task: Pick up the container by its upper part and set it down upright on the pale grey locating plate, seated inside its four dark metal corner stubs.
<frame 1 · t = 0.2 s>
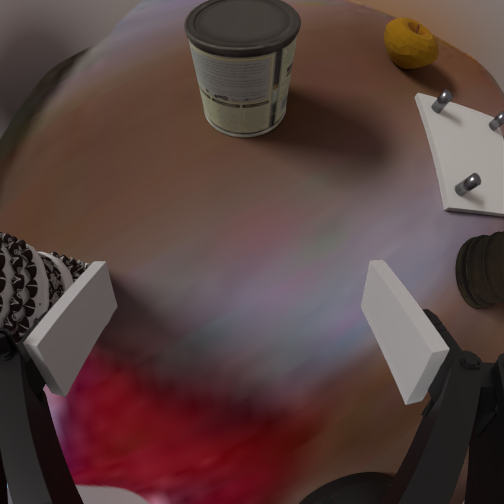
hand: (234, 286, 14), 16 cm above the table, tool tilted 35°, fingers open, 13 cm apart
locating plate: (474, 157, 33), on the table
container: (476, 272, 30), on the table
apple: (400, 63, 36), on the table
coffee can: (244, 106, 34), on the table
decorative candle: (83, 300, 29), on the table
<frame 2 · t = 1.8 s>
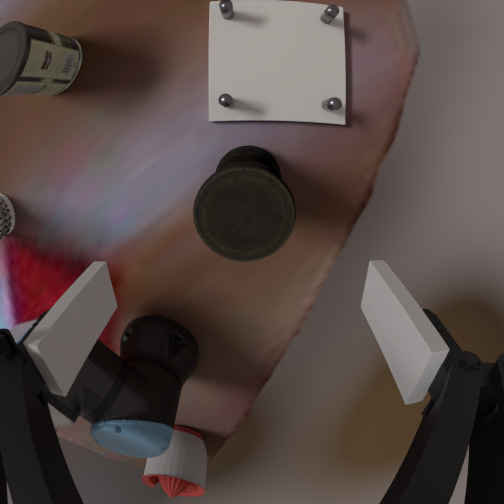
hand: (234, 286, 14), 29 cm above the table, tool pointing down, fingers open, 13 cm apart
locating plate: (277, 58, 33), on the table
container: (248, 177, 40), on the table
citrus juicer: (180, 435, 68), on the table
coffee can: (58, 66, 32), on the table
decorative candle: (2, 213, 42), on the table
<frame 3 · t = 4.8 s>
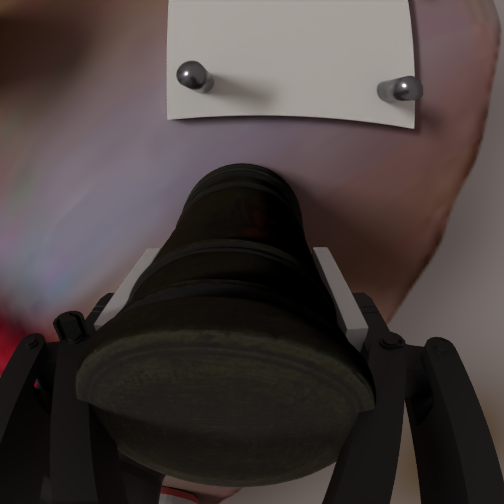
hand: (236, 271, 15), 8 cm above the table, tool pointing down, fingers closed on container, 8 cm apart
locating plate: (294, 7, 16), on the table
container: (242, 219, 23), on the table, touching gripper
citrus juicer: (171, 493, 51), on the table
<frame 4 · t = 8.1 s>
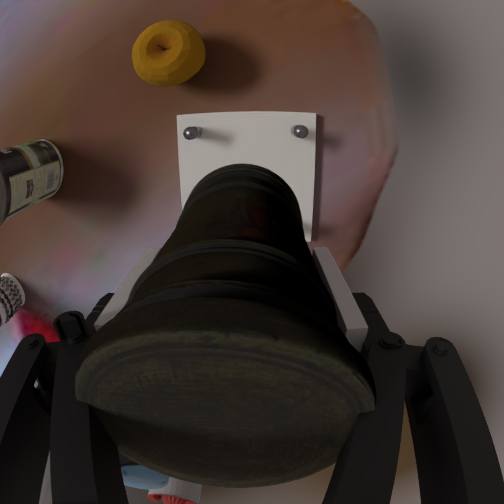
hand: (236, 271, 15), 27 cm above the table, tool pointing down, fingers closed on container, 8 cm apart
locating plate: (247, 177, 40), on the table
container: (242, 219, 23), point 18 cm above the table, touching gripper
citrus juicer: (179, 458, 75), on the table
apple: (178, 61, 33), on the table
coffee can: (42, 169, 39), on the table
decorative candle: (12, 289, 49), on the table
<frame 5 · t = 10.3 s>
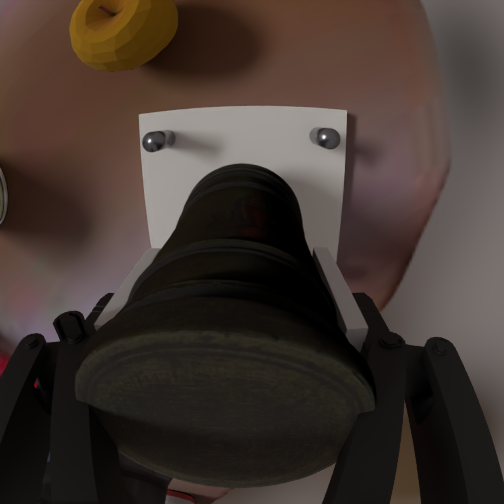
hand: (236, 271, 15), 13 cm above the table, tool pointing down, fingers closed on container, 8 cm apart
locating plate: (243, 204, 27), on the table
container: (242, 219, 23), point 5 cm above the table, touching gripper
citrus juicer: (173, 494, 62), on the table
apple: (144, 37, 21), on the table
when the fingers open (11 cm above the table, at t = 11.8 s): container drops 1 cm, resting on locating plate.
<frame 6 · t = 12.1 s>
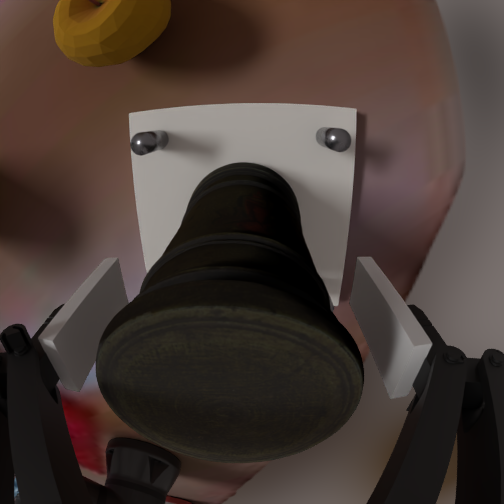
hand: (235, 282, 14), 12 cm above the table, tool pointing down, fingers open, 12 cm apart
locating plate: (243, 211, 25), on the table
container: (243, 215, 24), point 1 cm above the table, touching locating plate
citrus juicer: (172, 500, 60), on the table
apple: (136, 30, 18), on the table
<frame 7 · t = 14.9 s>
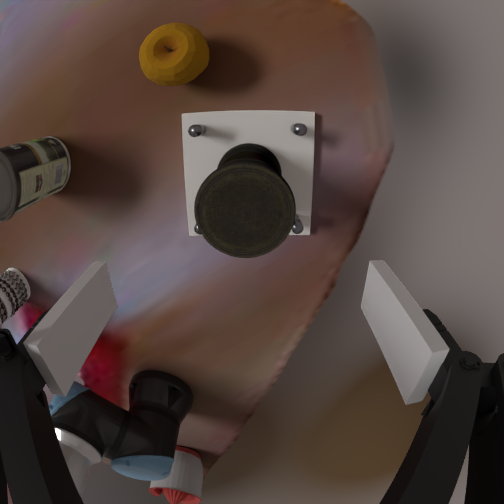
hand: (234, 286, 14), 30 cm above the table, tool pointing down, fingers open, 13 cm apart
locating plate: (248, 173, 41), on the table
container: (249, 174, 41), point 1 cm above the table, touching locating plate
citrus juicer: (180, 452, 77), on the table
apple: (183, 61, 35), on the table
coffee can: (49, 165, 40), on the table
decorative candle: (18, 283, 51), on the table
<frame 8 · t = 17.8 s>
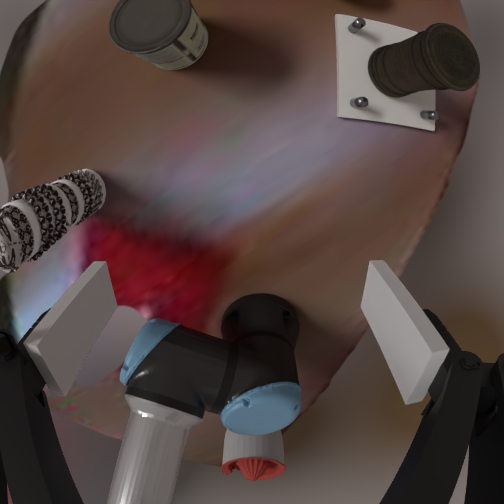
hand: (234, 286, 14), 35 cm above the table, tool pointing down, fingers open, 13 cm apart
locating plate: (388, 72, 38), on the table
container: (390, 71, 37), point 1 cm above the table, touching locating plate
citrus juicer: (251, 419, 73), on the table
coffee can: (176, 42, 37), on the table
decorative candle: (87, 191, 47), on the table
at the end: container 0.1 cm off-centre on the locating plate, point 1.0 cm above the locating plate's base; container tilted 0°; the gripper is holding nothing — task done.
